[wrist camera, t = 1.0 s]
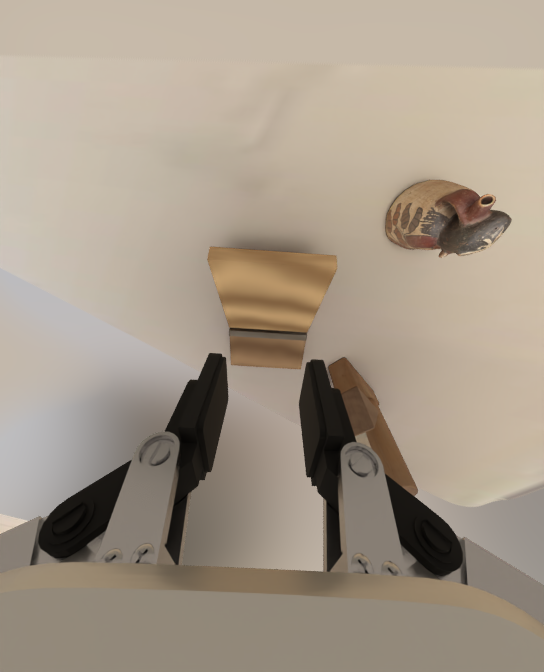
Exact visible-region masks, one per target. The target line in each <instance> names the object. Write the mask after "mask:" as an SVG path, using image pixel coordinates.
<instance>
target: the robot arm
mask: <svg viewBox="0 0 544 672" xmlns="http://www.w3.org/2000/svg"><path fill="white" fill-rule="evenodd" d="M227 403H228V383H227V366H226V357H222V354H216V353H209V355H208V357H207V360H206V362H205V364H204V367H203V369H202V371H201V374H200V376H199V378H198V380H190V381H189V382H188V384H187V385H186V388H185V390H184V392H183V394H182V396H181V398H180V400H179V402H178V404H177V407H176V409H175V411H174V413H173V415H172V417H171V419H170V422H169V423H168V425H167V428H166V430H165V432H158V433H155V434H153V435H150V436H149V437H147V438H146V439H145V440H143V441H142V442H141V443H140V445H139V446H138V447H137V449H136V451H135V453H134V456H133V458H132V460H131V461H129V462H127V463H126V464H124V465H122V466H120V467H119V468H117V469H116V470H114V471H112V472H111V473H109V474H107V475H106V476H104V477H103V478H101V479H99V480H98V481H96V482H94V483H93V484H91V485H89V486H88V487H86V488H84V489H83V490H81V491H80V492H78V493H76V494H75V495H73V496H71V497H70V498H68V499H67V500H66V501H64V502H62V503H61V504H60V505H59V506H57V507H56V508H55V509H54V510H53V511H52V512H51V513H50V515H49V516H47V517H44V518H41V517H40V516H39V517H37V518H34V519H32V520H30V521H28V522H26V523H24V524H21V525H19V526H17V527H15V528H13V529H10V530H8V531H6V532H4V533H2V534H0V672H544V585H542V584H541V583H539V582H538V581H536V580H534V579H533V578H531V577H530V576H528V575H526V574H525V573H523V572H521V571H520V570H518V569H517V568H515V567H513V566H512V565H510V564H508V563H507V562H505V561H503V560H502V559H500V558H498V557H497V556H495V555H493V554H492V553H490V552H489V551H487V550H485V549H484V548H482V547H480V546H479V545H477V544H475V543H474V542H472V541H470V540H469V539H467V538H465V537H464V538H462V539H461V538H460V537H458V536H456V534H455V533H454V532H453V531H452V529H451V528H450V526H449V525H448V524H447V523H446V522H445V521H444V520H443V519H442V518H441V517H439V516H438V515H437V514H436V513H434V512H433V511H432V510H431V509H429V508H428V507H427V506H426V505H424V504H423V503H422V502H421V501H419V500H418V499H417V498H415V497H414V496H413V495H412V494H410V493H409V492H408V491H407V490H405V489H404V488H403V487H402V486H400V485H399V484H398V483H397V482H395V481H394V480H393V479H392V478H390V477H389V476H388V475H387V474H385V473H384V468H383V465H382V462H381V459H380V458H379V456H378V455H377V454H376V453H375V452H374V451H373V450H372V449H371V446H370V444H369V441H368V438H367V435H366V433H363V434H360V435H358V436H355V435H354V432H353V429H352V426H351V422H350V419H349V416H348V413H347V410H346V407H345V404H344V401H343V398H342V394H341V392H340V390H339V389H337V388H331V386H330V382H329V378H328V375H327V371H326V368H325V364H324V361H323V360H311V362H307V363H306V368H305V374H304V379H303V384H302V390H301V395H300V400H299V409H300V419H301V428H302V438H303V448H304V456H305V467H306V475H307V477H311V482H312V486H317V489H318V493H319V494H320V495H321V496H322V497H323V498H324V499H323V510H324V511H323V517H324V518H323V520H324V521H323V529H324V530H323V534H324V535H323V545H324V546H323V561H324V562H323V572H318V571H298V570H278V569H255V568H234V567H211V566H187V565H186V566H185V565H182V560H183V552H184V545H185V537H186V528H187V521H188V514H189V506H190V499H191V491H192V490H194V489H195V488H196V487H197V486H198V484H199V480H205V476H206V473H207V472H211V470H212V467H213V462H214V458H215V454H216V450H217V446H218V441H219V437H220V433H221V429H222V424H223V420H224V416H225V412H226V407H227Z"/></svg>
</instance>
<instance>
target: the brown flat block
mask: <svg viewBox="0 0 544 672" xmlns="http://www.w3.org/2000/svg"><path fill="white" fill-rule="evenodd" d="M229 336H230V351H231V365H239V366H256V367H272V368H288V369H301V364H302V359H303V353H304V347H305V341H306V338H307V333H306V332H293V331H278V330H262V329H247V328H231V327H230V329H229Z"/></svg>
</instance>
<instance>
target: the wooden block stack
mask: <svg viewBox="0 0 544 672" xmlns="http://www.w3.org/2000/svg"><path fill="white" fill-rule="evenodd" d="M328 368H329V372H330V375H331V379H332V382H333V385H334V388H337V389H339V390H340V392H341V394H342V398H343V401H344V404H345V407H346V410H347V413H348V416H349V419H350V422H351V426H352V429H353V432H354V435H355V436H358V435H360V434H363V433H366V435H367V438H368V441H369V444H370V446H371V449H372V450H373V451H374V452H375V453H376V454H377V455H378V456H379V458H380V459H381V462H382V465H383V468H384V473H385V474H387V475H388V476H389V477H390V478H392V479H393V480H394V481H395V482H397V483H398V484H399V485H400V486H402V487H403V488H404V489H405V490H407V491H408V492H409V493H410V494H412V495H413V496H415V495H416V494H417V493H418V489H417V487H416V484H415V482H414V480H413V478H412V476H411V474H410V472H409V470H408V468H407V466H406V463H405V461H404V459H403V457H402V455H401V453H400V451H399V449H398V447H397V445H396V442H395V440H394V438H393V436H392V434H391V432H390V430H389V428H388V426H387V423H386V421H385V419H384V417H383V415H382V413H381V411H380V409H379V407H378V405H379V402H378V400H377V398H376V396H375V394H374V392H373V390H372V389H371V388H370V386H369V385H368V384H367V383H366V382H365V381H364V379H363V378H362V377H361V376H360V375H359V373H358V372H357V371H356V370H355V369H354V367H353V366H352V365H351V364H350V363H349V361H348V360H347V359H346V358H342V359H340V360H338V361H337V362H335V363H333V364H331V365H330V366H329V367H328Z"/></svg>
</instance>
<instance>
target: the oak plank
mask: <svg viewBox="0 0 544 672" xmlns="http://www.w3.org/2000/svg"><path fill="white" fill-rule="evenodd" d="M207 260H208V263H209V266H210V269H211V272H212V275H213V278H214V281H215V284H216V287H217V290H218V294H219V297H220V300H221V303H222V306H223V309H224V312H225V315H226V318H227V321H228V324H229V327H231V328H247V329H262V330H278V331H293V332H307V331H308V329H309V327H310V325H311V323H312V321H313V319H314V317H315V314H316V312H317V310H318V308H319V306H320V304H321V302H322V300H323V297H324V295H325V293H326V291H327V289H328V287H329V285H330V283H331V280H332V278H333V276H334V274H335V272H336V270H337V259H336V256H334V255H320V254H306V253H292V252H278V251H264V250H250V249H235V248H221V247H210V249H209V254H208V259H207Z"/></svg>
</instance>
